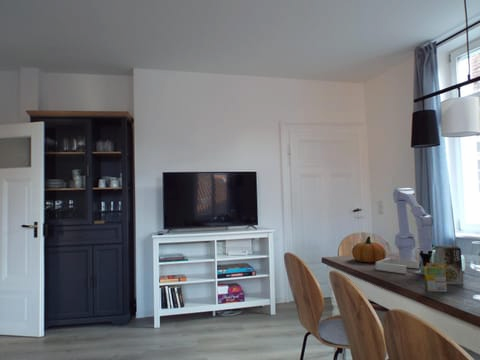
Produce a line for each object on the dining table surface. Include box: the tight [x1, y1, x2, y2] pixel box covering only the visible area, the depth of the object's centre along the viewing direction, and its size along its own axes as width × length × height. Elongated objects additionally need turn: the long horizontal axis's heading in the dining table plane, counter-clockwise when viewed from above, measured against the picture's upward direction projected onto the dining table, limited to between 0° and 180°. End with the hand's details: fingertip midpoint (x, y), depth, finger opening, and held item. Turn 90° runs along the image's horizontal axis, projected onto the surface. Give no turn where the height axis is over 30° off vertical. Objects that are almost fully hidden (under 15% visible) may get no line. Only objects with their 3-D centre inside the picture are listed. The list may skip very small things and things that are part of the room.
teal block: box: [419, 258, 433, 273], centre depth 170 cm, size 4×5×6 cm
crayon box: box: [424, 262, 448, 293], centre depth 138 cm, size 7×3×12 cm, turn 78°
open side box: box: [375, 257, 420, 274], centre depth 181 cm, size 18×16×4 cm
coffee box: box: [434, 245, 464, 286], centre depth 150 cm, size 9×6×16 cm
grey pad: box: [413, 269, 425, 276], centre depth 169 cm, size 9×9×1 cm
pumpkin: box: [351, 236, 387, 264], centre depth 205 cm, size 19×19×15 cm
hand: (426, 266), depth 170 cm, fingers open, 7 cm apart
